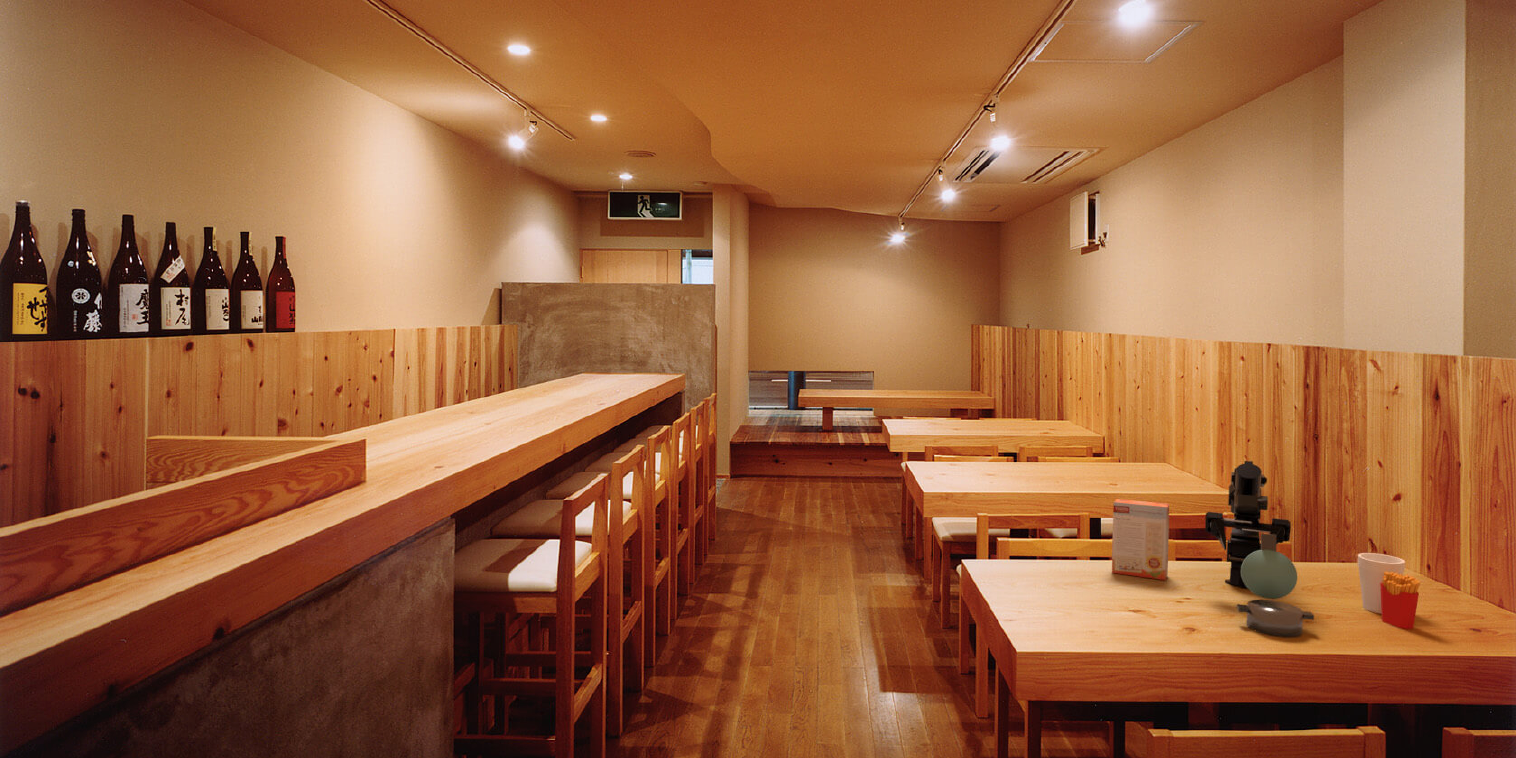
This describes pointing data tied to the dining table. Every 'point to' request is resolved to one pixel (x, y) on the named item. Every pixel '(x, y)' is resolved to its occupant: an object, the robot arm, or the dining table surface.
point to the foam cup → (1376, 577)
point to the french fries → (1399, 599)
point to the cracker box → (1140, 538)
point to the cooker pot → (1275, 617)
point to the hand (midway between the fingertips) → (1246, 551)
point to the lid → (1268, 571)
